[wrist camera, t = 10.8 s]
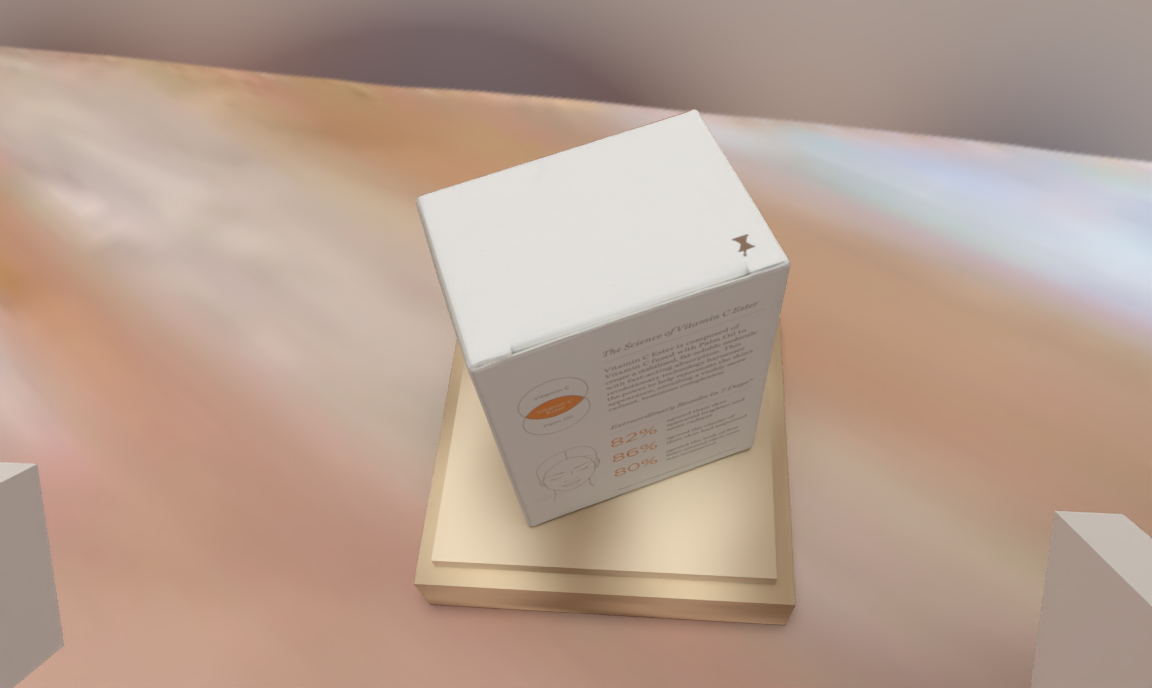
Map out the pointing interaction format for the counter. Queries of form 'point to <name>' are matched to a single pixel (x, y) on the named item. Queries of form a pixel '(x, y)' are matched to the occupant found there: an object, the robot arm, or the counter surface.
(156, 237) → the counter surface
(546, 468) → the small box
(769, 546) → the podium
